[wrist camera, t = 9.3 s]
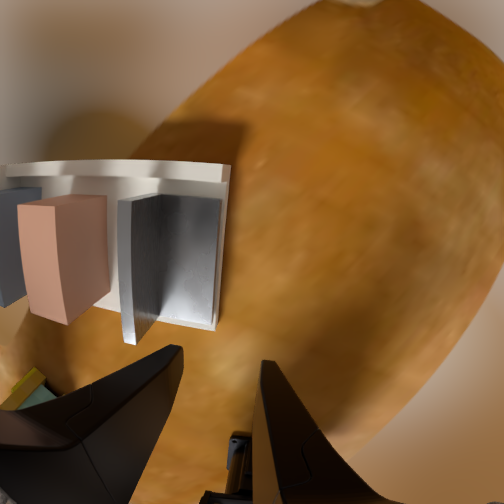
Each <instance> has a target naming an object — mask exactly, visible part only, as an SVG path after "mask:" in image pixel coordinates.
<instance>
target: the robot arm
mask: <svg viewBox="0 0 504 504" xmlns="http://www.w3.org/2000/svg"><path fill="white" fill-rule="evenodd" d="M183 369H184V355H183V347H182V346H178V345H173V344H170V345H168V346H166V347H164V348H162V349H160V350H158V351H156V352H154V353H152V354H150V355H148V356H146V357H144V358H142V359H140V360H138V361H136V362H134V363H132V364H130V365H128V366H126V367H124V368H122V369H120V370H118V371H116V372H114V373H112V374H110V375H108V376H106V377H104V378H101V379H99V380H97V381H95V382H93V383H92V385H91V384H89V385H87V386H84V387H82V388H80V389H78V390H75V391H73V392H71V393H68V394H66V395H63V396H60V397H57V398H55V399H52V400H49V401H46V402H42V403H39V404H36V405H33V406H30V407H26V408H23V409H19V410H1V409H0V504H128V503H129V501H130V499H131V497H132V494H133V492H134V490H135V488H136V486H137V484H138V481H139V479H140V477H141V475H142V473H143V470H144V468H145V466H146V464H147V462H148V460H149V457H150V455H151V453H152V451H153V449H154V447H155V444H156V442H157V440H158V438H159V436H160V434H161V431H162V429H163V427H164V425H165V423H166V421H167V419H168V416H169V414H170V412H171V409H172V406H173V403H174V400H175V397H176V393H177V390H178V387H179V384H180V380H181V377H182V374H183ZM227 469H228V470H229V474H228V479H227V484H226V489H225V493H216V492H212V491H207V490H206V491H205V493H204V496H203V497H201V500H200V502H199V504H404V503H400V502H396V501H392V500H389V499H386V498H384V497H383V496H381V495H379V494H378V493H377V492H375V491H374V490H373V489H372V488H371V487H370V486H369V485H367V483H366V482H365V481H364V480H363V479H362V478H361V477H360V476H359V475H358V474H357V473H356V472H355V471H354V470H353V469H352V468H351V467H350V466H349V465H348V464H347V463H346V462H345V461H344V459H343V458H342V457H341V456H340V455H339V454H338V453H337V452H336V450H335V449H334V448H333V447H332V445H331V444H330V443H329V441H328V440H327V439H326V437H325V436H324V434H323V433H322V431H321V430H320V429H319V427H318V426H317V424H316V423H315V421H314V420H313V418H312V417H311V415H310V414H309V412H308V411H307V409H306V408H305V406H304V405H303V403H302V402H301V400H300V399H299V397H298V396H297V394H296V393H295V391H294V390H293V388H292V386H291V385H290V383H289V382H288V380H287V379H286V377H285V376H284V374H283V373H282V371H281V370H280V368H279V366H278V365H277V363H276V362H275V361H271V360H262V361H261V367H260V373H259V379H258V386H257V394H256V401H255V408H254V415H253V424H252V438H248V437H240V436H231V437H230V440H229V450H228V459H227ZM487 504H504V503H500V502H490V503H487Z"/></svg>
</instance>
